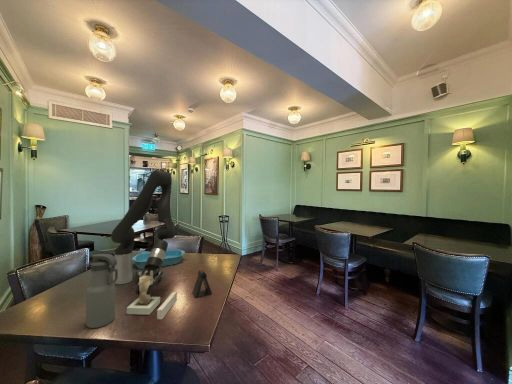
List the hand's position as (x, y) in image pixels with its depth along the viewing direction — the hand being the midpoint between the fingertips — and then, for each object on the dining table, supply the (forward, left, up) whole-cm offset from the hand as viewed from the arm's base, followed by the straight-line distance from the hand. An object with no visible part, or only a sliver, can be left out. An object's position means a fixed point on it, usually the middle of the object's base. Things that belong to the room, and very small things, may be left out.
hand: (142, 294), depth 97 cm
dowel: (0, +2, -5) cm, 5 cm away
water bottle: (-13, -9, -8) cm, 17 cm away
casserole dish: (-23, +64, -8) cm, 68 cm away
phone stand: (+23, +17, -8) cm, 29 cm away
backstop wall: (+11, +2, -8) cm, 13 cm away
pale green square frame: (0, +2, -8) cm, 8 cm away
